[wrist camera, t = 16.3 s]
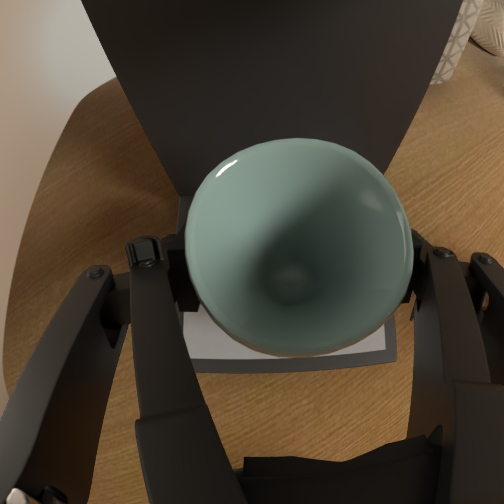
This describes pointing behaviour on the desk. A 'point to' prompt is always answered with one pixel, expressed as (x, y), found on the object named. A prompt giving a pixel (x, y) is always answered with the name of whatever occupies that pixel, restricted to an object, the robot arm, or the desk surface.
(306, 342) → the cup
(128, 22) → the coffee maker
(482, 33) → the lamp
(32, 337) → the desk surface
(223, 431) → the desk surface
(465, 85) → the desk surface
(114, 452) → the desk surface
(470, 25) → the planter
